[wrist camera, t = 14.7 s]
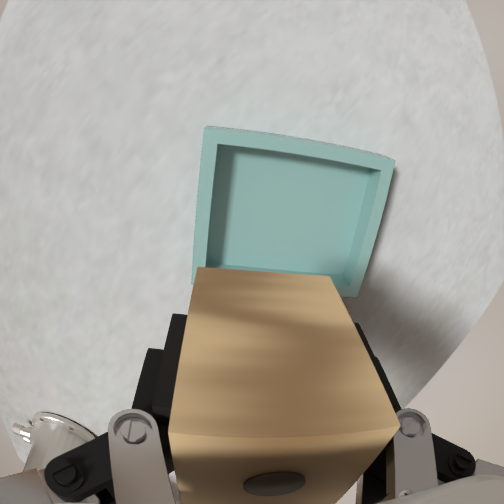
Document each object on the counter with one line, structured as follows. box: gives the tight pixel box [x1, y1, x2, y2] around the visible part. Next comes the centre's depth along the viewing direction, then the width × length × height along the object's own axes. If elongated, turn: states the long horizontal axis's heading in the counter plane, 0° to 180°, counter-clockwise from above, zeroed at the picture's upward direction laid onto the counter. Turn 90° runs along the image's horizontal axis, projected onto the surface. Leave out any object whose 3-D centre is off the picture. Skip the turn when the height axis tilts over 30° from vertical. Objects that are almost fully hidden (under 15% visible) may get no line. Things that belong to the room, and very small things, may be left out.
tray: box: [191, 126, 395, 298], centre depth 25 cm, size 14×12×2 cm
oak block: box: [168, 267, 401, 504], centre depth 10 cm, size 5×5×7 cm
